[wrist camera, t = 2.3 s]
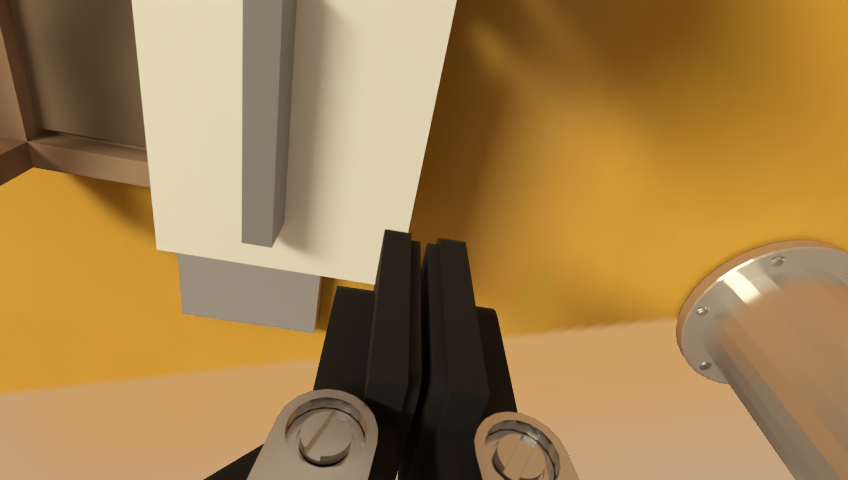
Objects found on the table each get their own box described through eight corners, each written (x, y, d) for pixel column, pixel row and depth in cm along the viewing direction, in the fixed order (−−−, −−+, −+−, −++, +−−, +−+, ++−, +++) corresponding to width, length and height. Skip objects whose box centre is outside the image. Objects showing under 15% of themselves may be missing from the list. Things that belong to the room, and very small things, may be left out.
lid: (472, -83, 16) (480, -87, 14) (397, 280, 24) (394, 315, 21) (125, -166, 15) (72, -186, 13) (162, 242, 23) (134, 275, 20)
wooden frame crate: (461, -87, 23) (475, -100, 16) (402, 210, 31) (395, 285, 24) (-44, -208, 21) (-273, -282, 14) (35, 146, 29) (-85, 207, 22)
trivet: (330, 212, 31) (325, 223, 30) (317, 319, 36) (313, 333, 34) (184, 186, 30) (173, 197, 29) (191, 300, 35) (182, 313, 33)
